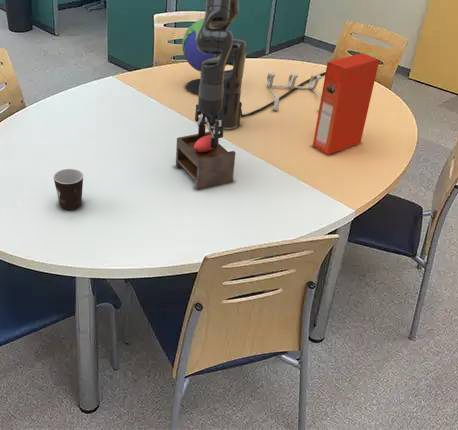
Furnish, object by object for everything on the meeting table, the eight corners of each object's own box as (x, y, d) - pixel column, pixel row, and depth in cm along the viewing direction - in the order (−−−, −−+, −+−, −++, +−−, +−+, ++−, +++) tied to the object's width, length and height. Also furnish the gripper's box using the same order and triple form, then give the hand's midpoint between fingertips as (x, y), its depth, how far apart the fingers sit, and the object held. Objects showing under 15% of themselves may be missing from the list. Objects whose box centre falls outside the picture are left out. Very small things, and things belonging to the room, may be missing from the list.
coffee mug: (57, 197, 180) (54, 168, 175) (85, 196, 181) (84, 168, 175) (54, 218, 171) (51, 189, 165) (83, 218, 172) (81, 189, 166)
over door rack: (313, 86, 262) (317, 65, 256) (325, 114, 238) (330, 92, 232) (265, 84, 262) (268, 63, 256) (272, 112, 238) (276, 89, 232)
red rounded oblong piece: (221, 156, 190) (224, 136, 189) (200, 152, 184) (203, 132, 184) (211, 154, 194) (214, 135, 193) (190, 151, 189) (193, 131, 188)
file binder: (311, 146, 214) (327, 61, 196) (343, 135, 223) (361, 52, 205) (328, 155, 209) (346, 69, 191) (360, 143, 218) (380, 59, 199)
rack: (209, 159, 203) (211, 131, 197) (232, 181, 192) (235, 152, 185) (175, 166, 198) (176, 137, 192) (197, 190, 187) (199, 159, 180)
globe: (182, 76, 266) (186, 9, 249) (231, 80, 264) (238, 12, 247) (177, 96, 248) (180, 24, 231) (230, 100, 246) (237, 28, 229)
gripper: (233, 101, 175) (228, 149, 185) (210, 84, 186) (207, 130, 195) (211, 105, 173) (207, 153, 182) (189, 87, 183) (187, 134, 192)
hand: (207, 141), depth 188 cm, fingers open, 8 cm apart
